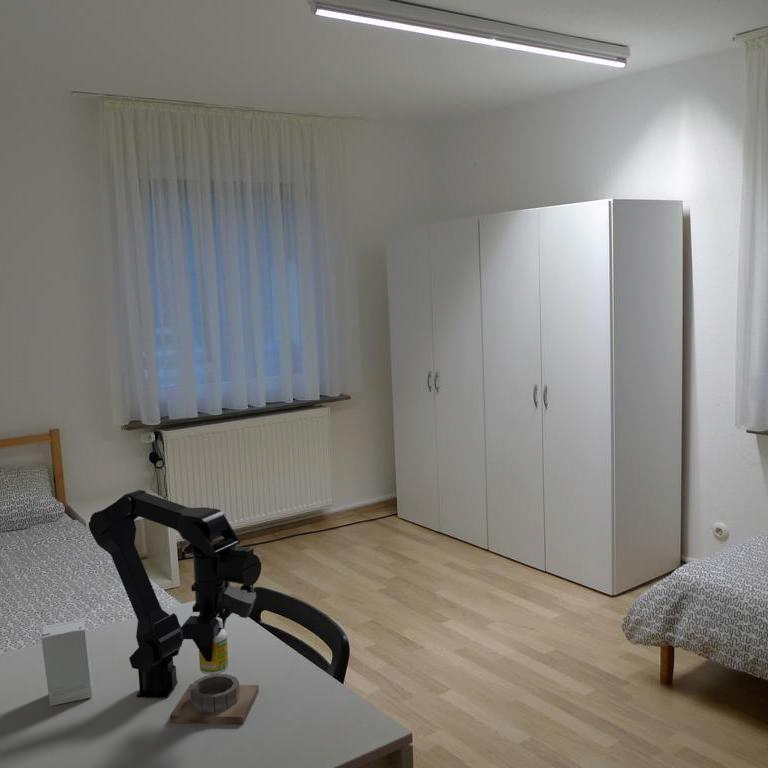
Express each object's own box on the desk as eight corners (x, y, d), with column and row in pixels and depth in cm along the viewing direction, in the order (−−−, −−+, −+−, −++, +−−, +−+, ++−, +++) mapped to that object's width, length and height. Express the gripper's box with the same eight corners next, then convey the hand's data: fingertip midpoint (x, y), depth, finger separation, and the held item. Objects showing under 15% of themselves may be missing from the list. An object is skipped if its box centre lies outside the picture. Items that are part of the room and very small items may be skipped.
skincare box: (92, 685, 168) (86, 617, 166) (92, 699, 162) (86, 628, 160) (48, 693, 165) (42, 624, 163) (47, 708, 159) (41, 636, 157)
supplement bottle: (221, 676, 154) (219, 627, 152) (195, 674, 155) (192, 626, 153) (232, 663, 159) (230, 616, 158) (206, 661, 160) (204, 614, 159)
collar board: (170, 722, 152) (168, 700, 152) (190, 690, 164) (189, 669, 164) (243, 724, 151) (241, 701, 151) (258, 692, 163) (257, 670, 162)
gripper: (238, 596, 144) (241, 678, 147) (262, 560, 163) (265, 633, 165) (177, 595, 145) (181, 677, 147) (208, 559, 164) (211, 632, 166)
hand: (213, 654), depth 156 cm, fingers closed on supplement bottle, 5 cm apart
